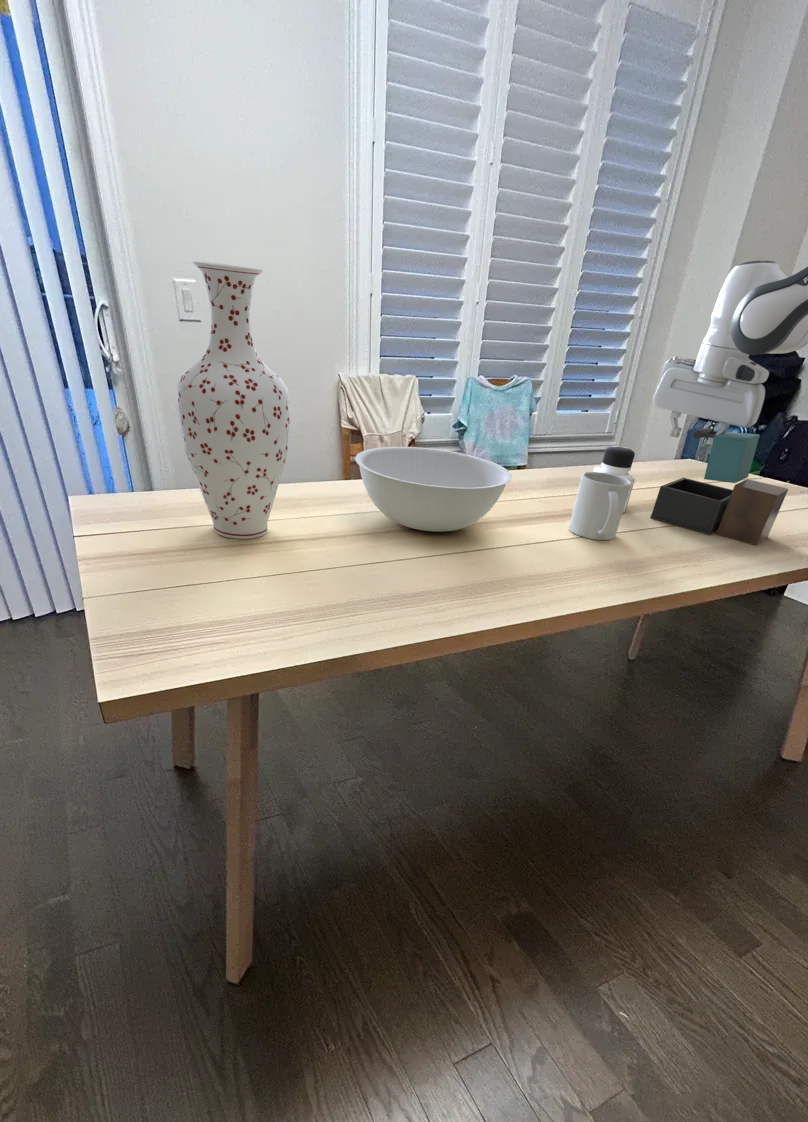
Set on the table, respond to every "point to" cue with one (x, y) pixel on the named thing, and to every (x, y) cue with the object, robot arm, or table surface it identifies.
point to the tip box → (729, 455)
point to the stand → (751, 511)
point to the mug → (599, 505)
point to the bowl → (431, 486)
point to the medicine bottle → (618, 464)
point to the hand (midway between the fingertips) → (691, 441)
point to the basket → (691, 505)
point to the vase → (234, 412)
